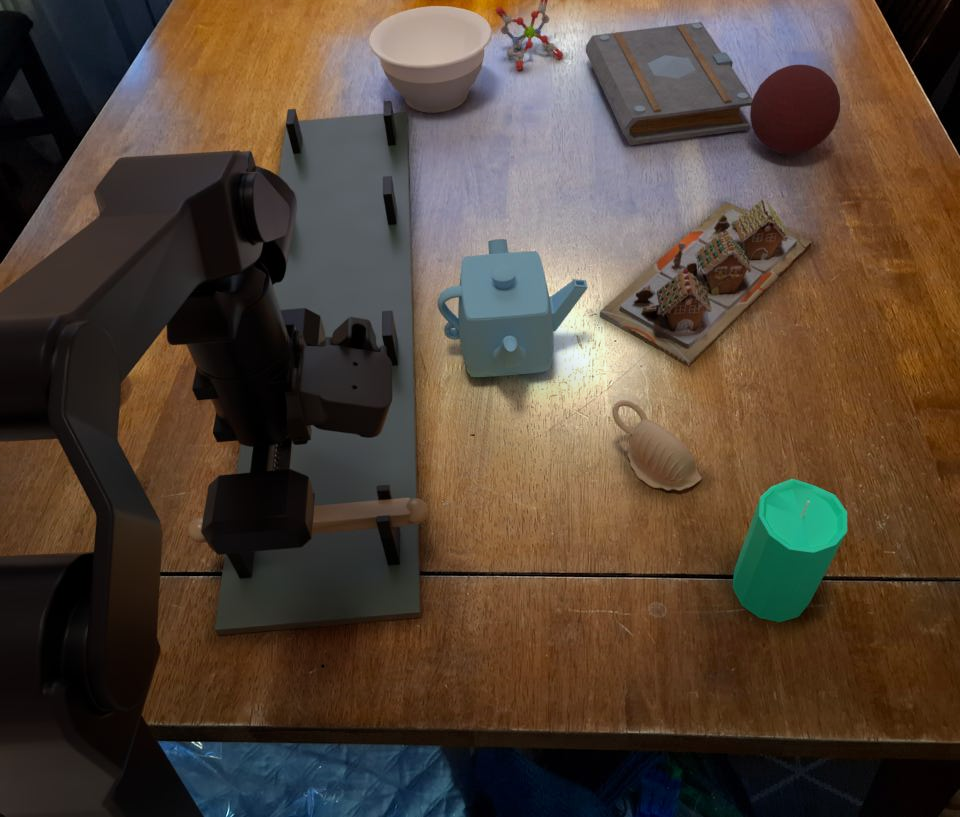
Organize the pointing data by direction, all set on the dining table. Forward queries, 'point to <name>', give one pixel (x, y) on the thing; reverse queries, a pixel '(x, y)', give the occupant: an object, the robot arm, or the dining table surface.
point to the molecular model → (527, 34)
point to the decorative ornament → (657, 453)
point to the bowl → (432, 54)
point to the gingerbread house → (707, 280)
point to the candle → (788, 549)
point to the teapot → (506, 312)
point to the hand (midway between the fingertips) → (297, 492)
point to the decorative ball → (795, 109)
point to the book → (668, 83)
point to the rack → (335, 297)
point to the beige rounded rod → (351, 516)
